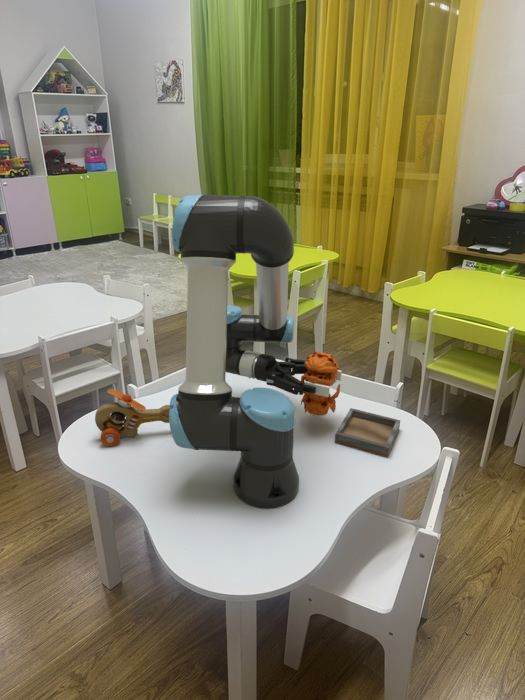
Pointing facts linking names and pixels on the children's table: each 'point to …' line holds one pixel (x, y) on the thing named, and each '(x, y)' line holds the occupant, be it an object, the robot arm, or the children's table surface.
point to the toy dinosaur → (322, 373)
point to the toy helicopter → (135, 417)
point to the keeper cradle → (368, 432)
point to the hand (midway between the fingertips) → (335, 383)
